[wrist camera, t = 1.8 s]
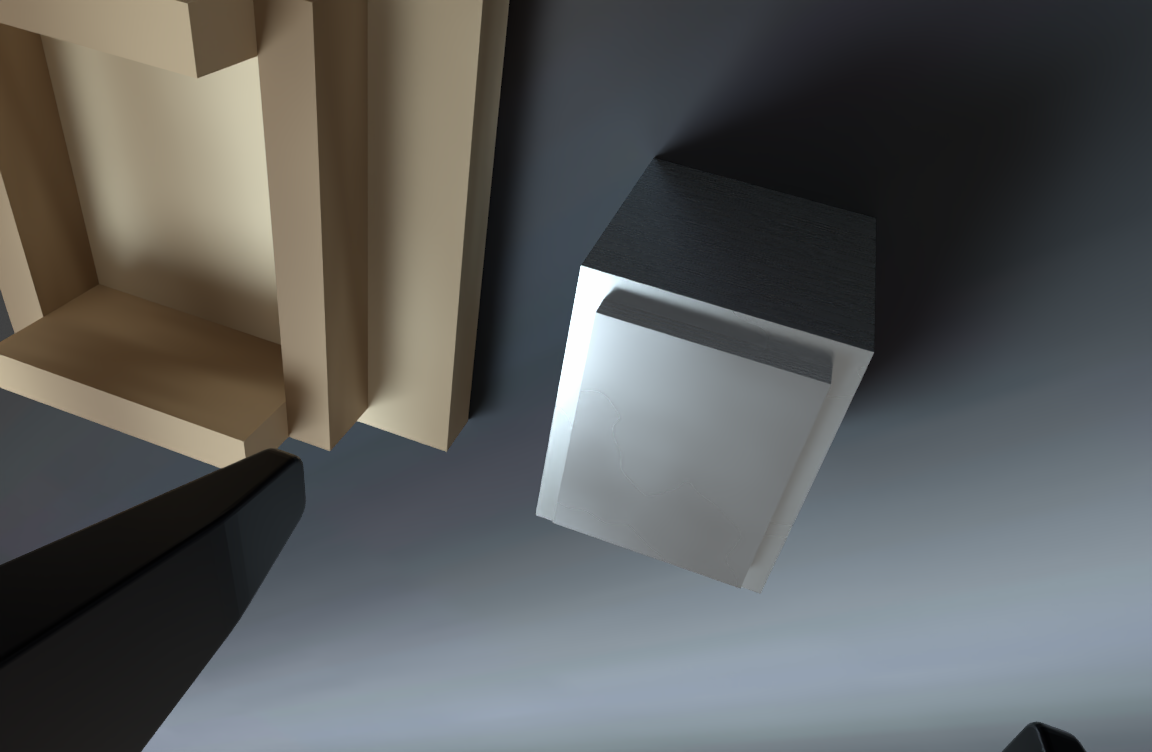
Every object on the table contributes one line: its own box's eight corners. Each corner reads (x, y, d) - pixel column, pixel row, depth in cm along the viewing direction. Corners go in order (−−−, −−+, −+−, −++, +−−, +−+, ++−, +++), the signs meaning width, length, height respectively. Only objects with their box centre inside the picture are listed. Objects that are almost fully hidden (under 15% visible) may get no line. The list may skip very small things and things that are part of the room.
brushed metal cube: (876, 216, 14) (874, 368, 10) (785, 431, 17) (757, 611, 13) (654, 156, 14) (572, 278, 11) (605, 374, 17) (527, 530, 14)
